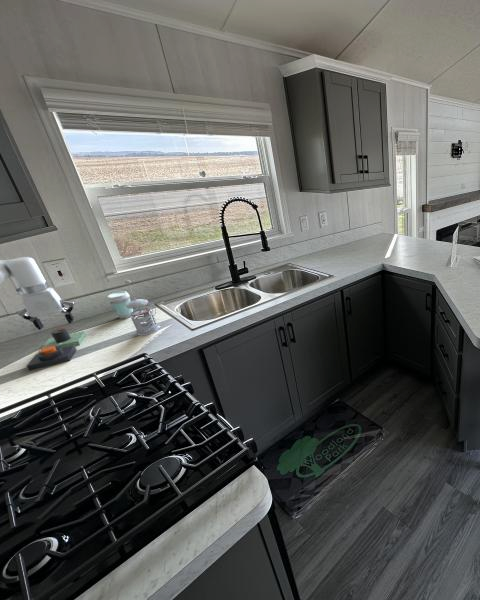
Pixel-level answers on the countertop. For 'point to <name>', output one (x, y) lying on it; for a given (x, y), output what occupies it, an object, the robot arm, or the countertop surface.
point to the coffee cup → (120, 304)
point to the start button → (48, 350)
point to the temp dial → (60, 335)
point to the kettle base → (52, 358)
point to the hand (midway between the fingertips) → (56, 325)
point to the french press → (144, 327)
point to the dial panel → (73, 341)
